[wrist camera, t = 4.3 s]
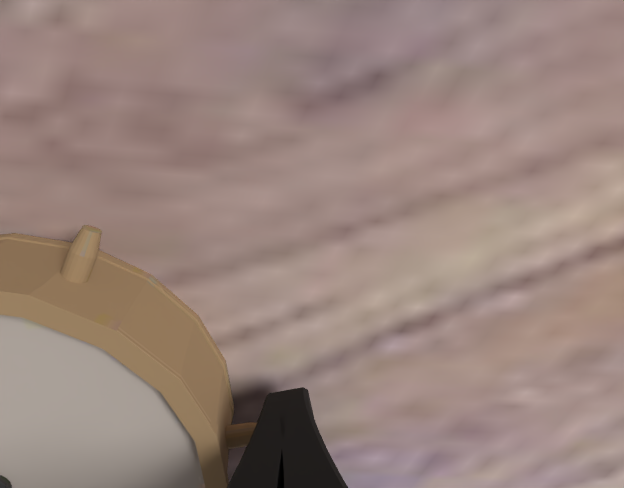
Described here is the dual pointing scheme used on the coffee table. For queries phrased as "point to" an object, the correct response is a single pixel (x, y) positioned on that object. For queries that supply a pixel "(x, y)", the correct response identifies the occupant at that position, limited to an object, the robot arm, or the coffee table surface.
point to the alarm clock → (105, 375)
